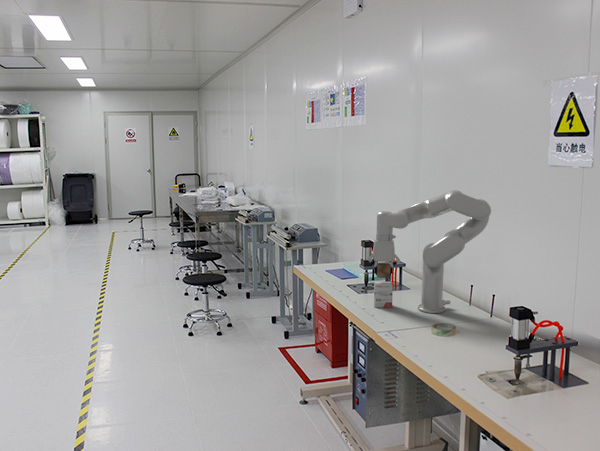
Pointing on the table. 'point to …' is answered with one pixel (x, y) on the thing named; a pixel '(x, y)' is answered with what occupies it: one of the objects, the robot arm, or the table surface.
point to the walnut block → (383, 270)
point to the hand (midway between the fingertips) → (383, 274)
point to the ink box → (383, 294)
